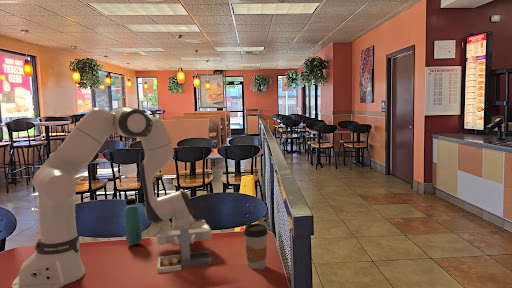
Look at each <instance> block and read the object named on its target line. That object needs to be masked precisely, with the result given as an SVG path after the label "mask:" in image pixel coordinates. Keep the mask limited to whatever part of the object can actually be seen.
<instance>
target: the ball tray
mask: <svg viewBox="0 0 512 288" xmlns="http://www.w3.org/2000/svg"><path fill="white" fill-rule="evenodd" d="M180 254H181V253H180ZM180 254H173V255H171V254H170V255H164V256H158V257H157V273H159V274H160V273H167V272H168V273H169V272H175V271H181V270H182V268H181V264H178V265H169V266H161V265H162V264H161V263H162V261H163V260H164V259H165V258H168V259H170V261H171V260H172V258H174V257H178V258H179V260H180Z"/></svg>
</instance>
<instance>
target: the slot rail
mask: <svg viewBox="0 0 512 288" xmlns="http://www.w3.org/2000/svg"><path fill="white" fill-rule="evenodd" d="M212 259H213V258H212V257H211V251H210V250H205V251H196V252H190V260H185V261H182V254H181V253H180V259H179V260H180V265H181V269H182V268H188V267H197V266H205V265H211V264H212V263H213V260H212Z"/></svg>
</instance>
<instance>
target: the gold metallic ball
mask: <svg viewBox="0 0 512 288" xmlns="http://www.w3.org/2000/svg"><path fill="white" fill-rule="evenodd" d="M161 263H162V264H161V265H162V267H167V266H171V265H172V263H171V260H170V259H168V258H165V259H164V260H163V261H161Z"/></svg>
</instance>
